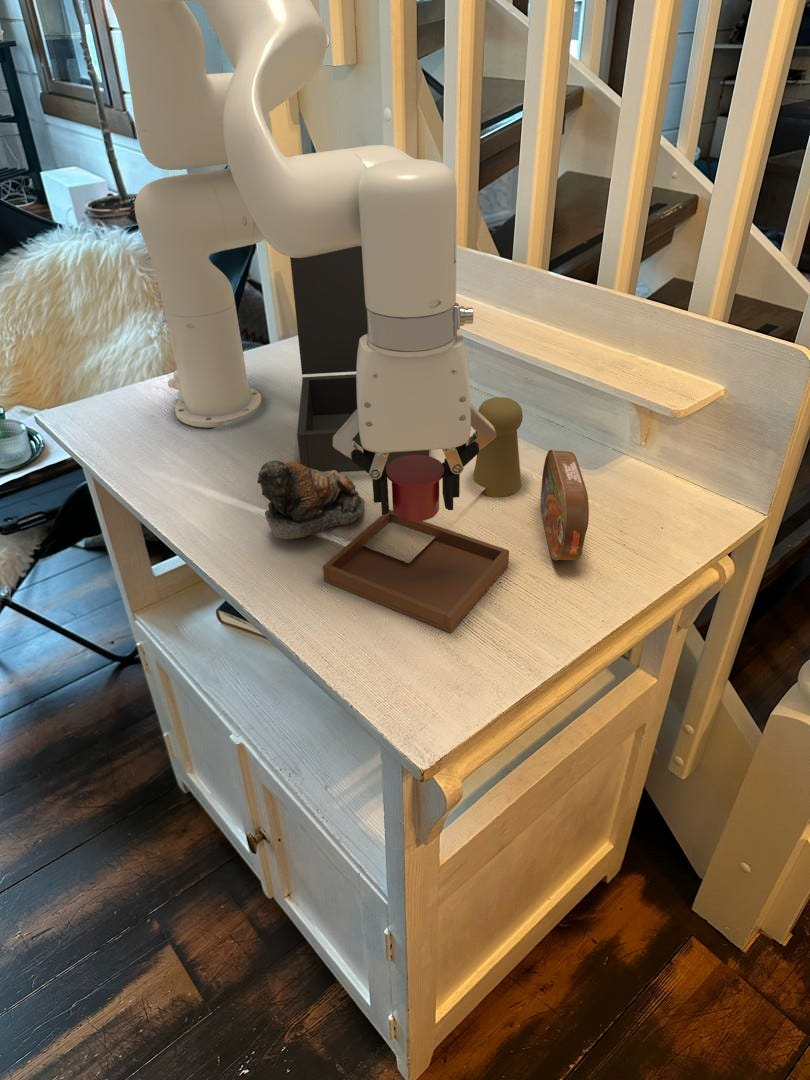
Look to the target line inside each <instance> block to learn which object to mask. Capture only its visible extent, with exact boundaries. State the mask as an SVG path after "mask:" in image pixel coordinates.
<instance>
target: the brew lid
mask: <svg viewBox="0 0 810 1080" xmlns="http://www.w3.org/2000/svg"><path fill="white" fill-rule="evenodd" d="M289 259H290V261H289V262H290V269H291V279H292V289H293V290H292V291H293V299H294V300H293V301H294V307H295V308H294V309H295V319H296V329H297V339H298V348H299V358H300V370H301V375H303V376H304V375H320V374H322V375H323V374H337V373H339V374H340V373H355V372H356V370H357V354H358V346H359V340H360V338H361V337H362V336H363V335H365V334H367V321H366V304H365V292H364V276H363V260H362V246H356V247H352V248H347V249H343V250H338V251H333V252H329V253H324V254H320V255H315V256H310V257H304V258H293V257H289Z"/></svg>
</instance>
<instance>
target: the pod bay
mask: <svg viewBox="0 0 810 1080" xmlns="http://www.w3.org/2000/svg"><path fill="white" fill-rule="evenodd" d="M300 388H301V389H300V398H299V400H300V401H299V412H298V423H297V431H296V437H297V445H298V446H297V447H298V453H299V460H300V461H299V462H300V464H301V465H304V466H306V467H307V468H310V469H315V470H318V471H321V472H326V471H333V470H335V471H337V472H339V473H347V472H349V473H350V472H363V471H364V470H363V469H362V468H360V467H359V466H358V465H357V464H355V463H354V462H353V461H352V459H351V458H349V457H347V456H345V455H344V454H342V453H341V452H339V451H338V450H336V449H335V448H334V447H333V436H334V435H335V434H336V433H337V431H338V430H339V429H340V428H341V427H342V426H343V424H344V423H345V422H346V421H347V420H348V419H349V417H350V416H351V415H352V414H353V413H354V412H355V410H356V409H357V384H356V373H353V374H351V373H350V374H336V375H335V374H333V375H316V376H302V379H301V387H300ZM352 440H353V441H355V443H357V444H360V445H362V444H361V440H360V435H359V433H358V434H357V435H356V436H355V437H354V438H353V439H352ZM407 455H425V456H429V457H430V450H420V451H404V452H389V455H388V458H387V461H386V464H385V466H386V467H387V465H388V464H389V463H390V462H391V461H393V460H395V459H397V458H399V457H403V456H407ZM364 472H365V471H364Z"/></svg>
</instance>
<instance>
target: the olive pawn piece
mask: <svg viewBox="0 0 810 1080" xmlns="http://www.w3.org/2000/svg"><path fill="white" fill-rule="evenodd" d="M477 410H478V411H479V412H480V413H481V414H482V415H483V416H484V417H485V418H486V419H487V420H488V421H489V422H490V423H491V424H492V425H493V426H494V428H495V431H496V437H495V438H494V439H493V440H492V441H491V442H490V443H489V444H487V445H486V446H485V447H484V448H482V449H480V450H479V453H478V454H477V455H476V459H475V464H474V469H473V474H472V475H473V477H472V478H473V481H474V482H475V483H476V484H477V485H478V486H480V487H482V488H484V489H483V490H482V491H481V492H480V494H481V495H484V496H487V497H491V498H492V497H493V498H504V497H509V496H512V495H514V494H516V493H517V492H519V491H520V489H521V487H522V478H521V464H520V452H519V439H518V437H519V436H518V429H519V428H520V427H521V425H522V422H523V419H524V418H523V417H524V414H523V410H522V406H521V405H520V403H518V401H516V400H514V399H512V398H509V397H504V396H497V397H495V396H494V397H491V398H488V399H486V400H484V401H483V402H482V403H481V404H480V405H479V407H478V409H477Z"/></svg>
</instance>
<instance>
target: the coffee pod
mask: <svg viewBox="0 0 810 1080" xmlns="http://www.w3.org/2000/svg"><path fill="white" fill-rule="evenodd" d="M444 471H445V469H444V466H443V464H442V462H441V461H440V460H439V459H437V458H435V457H432V456H430V455H429V456H425V455H407V456H403V457H399V458H397V459H395V460H393V461H391V462H390V463H389V464H388V465H387V467H386V474H387V480H389V481H390V482H391V501H392V511H393V512H394V514H395V515H396V516H397V517H399V518H401V519H403V520H407V521H424V522H425V521H428V520H430V519H432V518H434V517H436V515H437V514H438V513H439V511H440V481H441V480H442V477H443V476H444Z"/></svg>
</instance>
